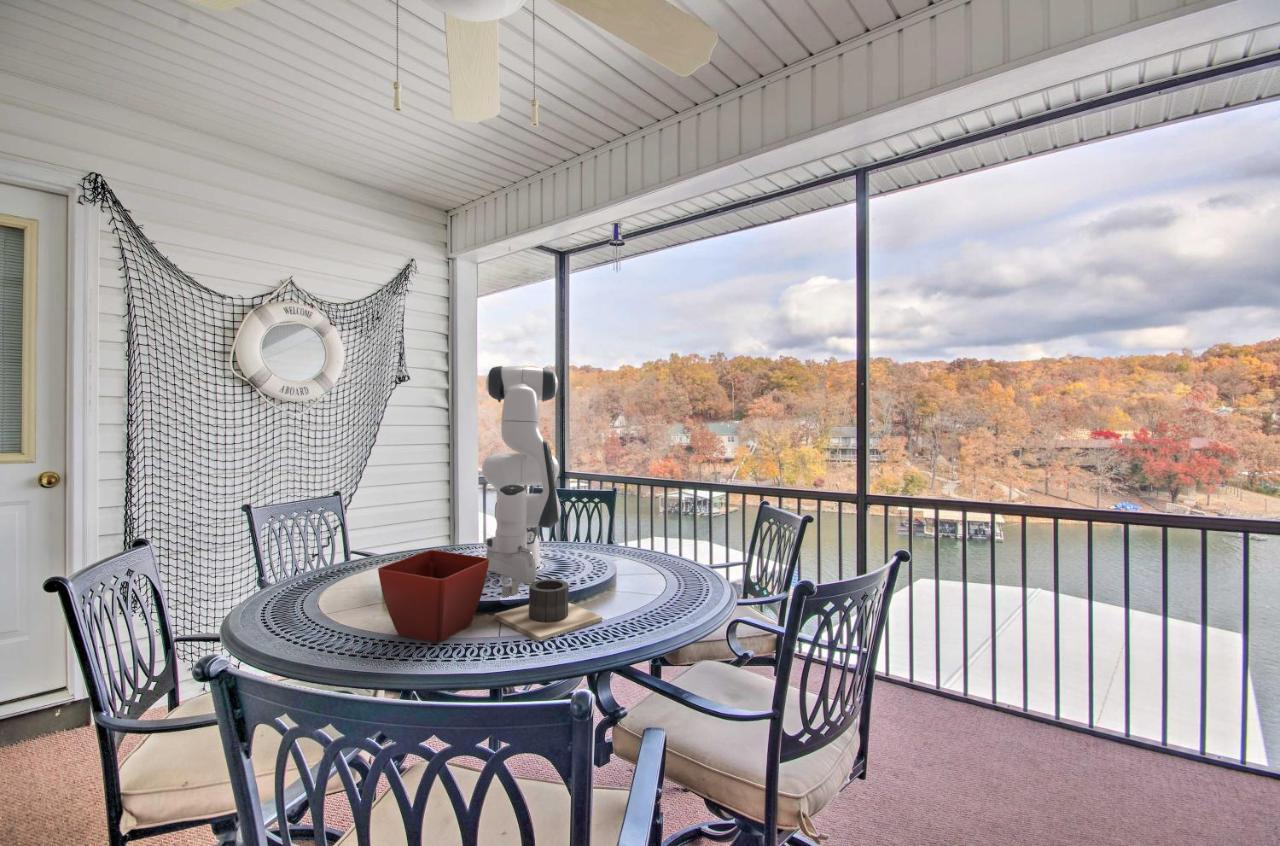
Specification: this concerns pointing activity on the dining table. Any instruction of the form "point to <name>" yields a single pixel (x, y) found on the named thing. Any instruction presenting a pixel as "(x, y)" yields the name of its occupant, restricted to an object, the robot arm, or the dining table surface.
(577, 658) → the dining table surface
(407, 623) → the plant pot
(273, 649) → the dining table surface
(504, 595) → the white short cylinder
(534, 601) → the stand
